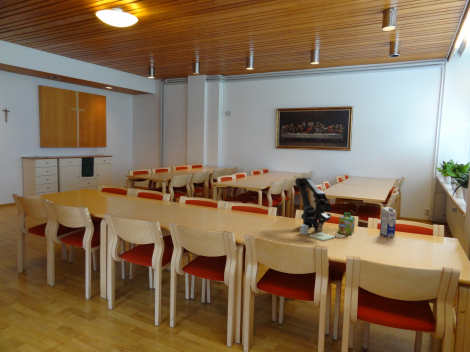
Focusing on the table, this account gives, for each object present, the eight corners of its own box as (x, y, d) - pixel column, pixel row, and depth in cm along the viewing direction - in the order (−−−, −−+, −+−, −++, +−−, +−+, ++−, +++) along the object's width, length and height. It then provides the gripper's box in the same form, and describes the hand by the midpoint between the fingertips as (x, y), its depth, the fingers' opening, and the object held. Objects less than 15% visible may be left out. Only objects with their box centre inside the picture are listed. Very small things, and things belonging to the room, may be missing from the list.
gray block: (300, 233, 236) (300, 225, 235) (303, 232, 238) (304, 224, 238) (304, 234, 233) (304, 226, 232) (308, 233, 235) (308, 225, 234)
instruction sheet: (327, 234, 234) (327, 234, 234) (333, 232, 238) (334, 232, 238) (339, 237, 226) (339, 237, 226) (345, 236, 230) (345, 235, 230)
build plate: (309, 236, 229) (309, 235, 229) (321, 233, 236) (321, 232, 236) (323, 241, 219) (323, 239, 219) (334, 237, 226) (335, 236, 226)
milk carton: (387, 233, 237) (389, 206, 234) (394, 236, 231) (396, 208, 228) (379, 234, 234) (381, 207, 232) (387, 237, 228) (389, 209, 225)
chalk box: (338, 233, 237) (338, 213, 235) (341, 230, 245) (342, 210, 243) (351, 235, 232) (352, 214, 230) (354, 232, 240) (355, 212, 238)
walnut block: (314, 231, 242) (314, 223, 241) (317, 230, 244) (318, 222, 244) (318, 232, 239) (318, 224, 238) (322, 231, 241) (322, 223, 241)
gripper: (319, 213, 228) (318, 234, 230) (336, 209, 239) (335, 230, 241) (307, 209, 237) (306, 230, 239) (324, 206, 247) (323, 226, 250)
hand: (318, 229), depth 242 cm, fingers open, 5 cm apart
